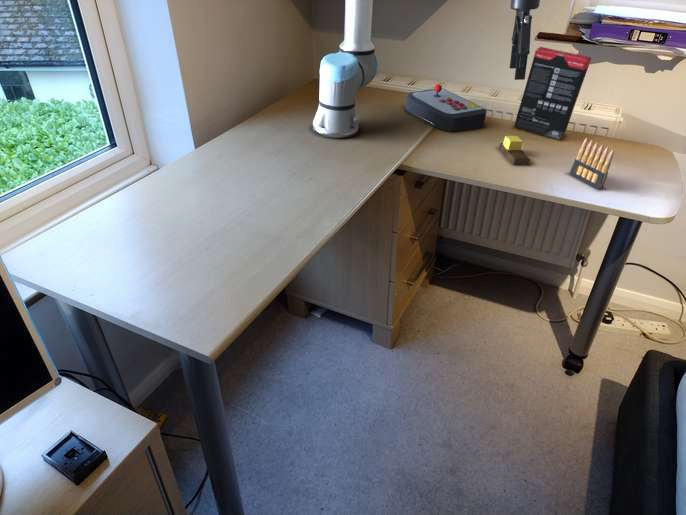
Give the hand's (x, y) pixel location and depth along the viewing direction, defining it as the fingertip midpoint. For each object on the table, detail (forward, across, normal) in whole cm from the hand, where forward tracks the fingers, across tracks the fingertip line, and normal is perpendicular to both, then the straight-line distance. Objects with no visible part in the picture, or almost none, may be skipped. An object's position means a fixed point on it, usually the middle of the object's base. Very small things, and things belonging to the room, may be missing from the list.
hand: (516, 73), depth 149 cm
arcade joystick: (+21, +27, +21) cm, 40 cm away
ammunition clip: (+29, -13, -21) cm, 38 cm away
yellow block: (+23, +1, -1) cm, 23 cm away
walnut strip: (+25, -1, -2) cm, 25 cm away
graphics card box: (+26, +23, -13) cm, 37 cm away
